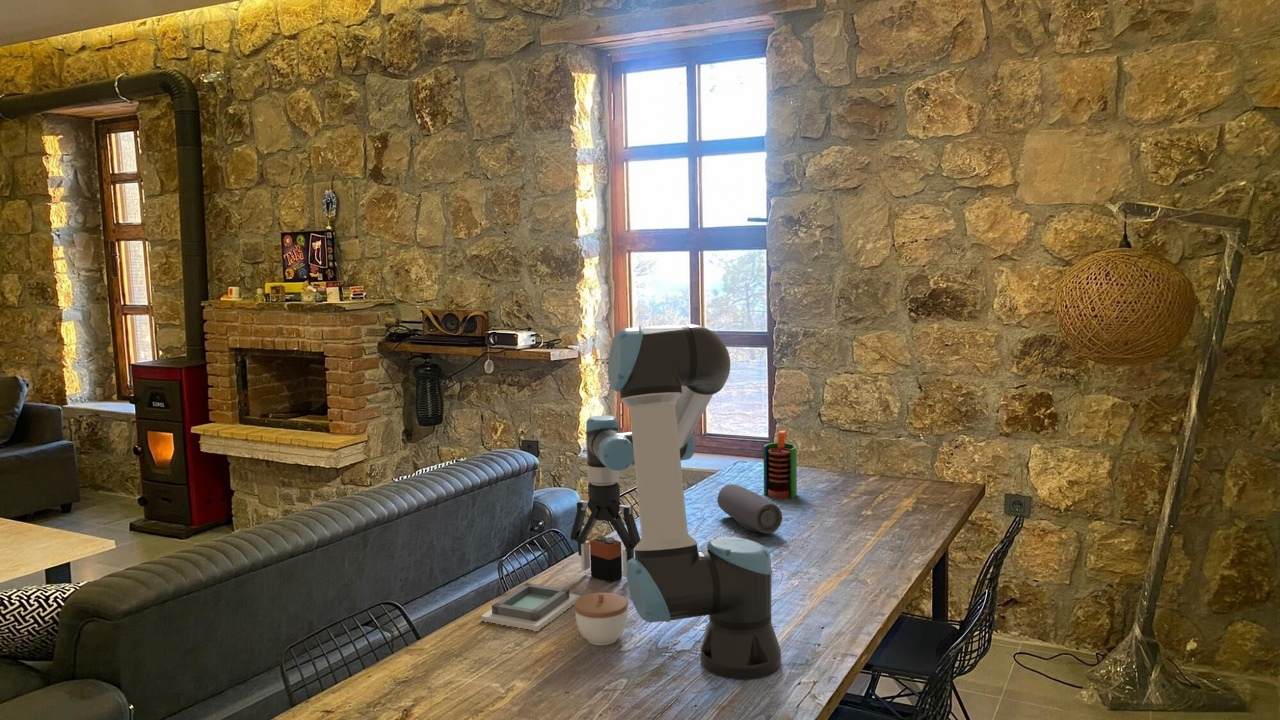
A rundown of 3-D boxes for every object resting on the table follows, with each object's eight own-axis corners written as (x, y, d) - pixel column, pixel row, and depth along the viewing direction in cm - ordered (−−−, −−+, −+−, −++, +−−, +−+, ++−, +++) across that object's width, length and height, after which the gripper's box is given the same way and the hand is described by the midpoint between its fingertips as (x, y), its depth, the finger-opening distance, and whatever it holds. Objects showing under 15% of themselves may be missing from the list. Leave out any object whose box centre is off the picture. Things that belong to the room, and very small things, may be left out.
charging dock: (537, 631, 188) (536, 617, 188) (481, 621, 194) (480, 607, 194) (579, 600, 205) (579, 587, 204) (526, 591, 211) (526, 579, 210)
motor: (762, 497, 283) (761, 434, 281) (766, 490, 292) (766, 428, 289) (795, 499, 280) (794, 435, 278) (798, 492, 289) (798, 429, 286)
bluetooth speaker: (784, 535, 246) (784, 499, 245) (754, 540, 243) (753, 504, 242) (744, 513, 267) (744, 480, 266) (715, 517, 264) (715, 484, 263)
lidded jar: (600, 623, 192) (598, 580, 191) (639, 636, 185) (638, 592, 184) (564, 641, 184) (562, 596, 182) (604, 655, 177) (603, 609, 176)
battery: (610, 583, 215) (609, 542, 213) (590, 576, 219) (588, 536, 218) (623, 578, 218) (622, 537, 216) (603, 571, 222) (601, 532, 221)
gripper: (654, 481, 214) (656, 572, 217) (569, 473, 224) (572, 560, 227) (641, 489, 207) (643, 583, 210) (553, 481, 217) (556, 570, 220)
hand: (606, 571), depth 218 cm, fingers open, 10 cm apart
